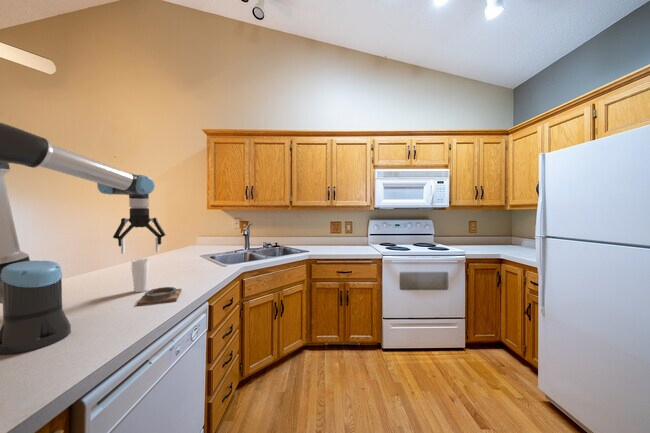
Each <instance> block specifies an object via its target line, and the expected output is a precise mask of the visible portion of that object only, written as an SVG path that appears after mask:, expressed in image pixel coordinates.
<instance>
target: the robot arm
mask: <svg viewBox="0 0 650 433" xmlns="http://www.w3.org/2000/svg"><path fill="white" fill-rule="evenodd" d="M10 164H15V165H21V166H25V167H29V168H32V169H34V168H35V169H36V168H39V167H41V168H45V169H48V170H51V171H54V172H58V173H62V174H65V175H68V176H73V177H76V178H80V179H83V180H87V181H90V182H94V183H97V190H98V191H99V193H101V194H104V195H109V196H110V195H122V196H123V195H125V196H128V198H129V199H128V204H129V207H130V208H129V218H126V217H122V218H121V219H120V224H119V226H118V227H117V229H116V231H115V233H114V235H113V236H112V238H113V239H116V240H118V241H117V242H118V247H120V248H121V249H120V252H121V253H120V254H125V253H126V238H125V237H126V236H127V235H128V234H129V232H130V231H131V230H132V229H134V228H136V229H137V228H145V227H146V229H148V230H149V231H150V232H151V233H152V234H153V235H154V236H155V237H156V238H155V252H157V253H158V252H160V245H161V244H162V238H163V237H166V233H165V231H164V230H163V228H162V226H161V225H160V223H159V222H158V217H153V218H150V208H149V207H150V199H149V198H150V197H149V194H151V193H152V192H153V191H154V190H155V181H154V179H152V178H151V177H150V176H147V175H144V174H134V173H131V172H128V171H126V170H122V169H120V168H117V167H115V166H111V165H109V164H106V163H104V162H101V161H98V160H95V159H93V158H90V157H86V156H84V155H81V154H79V153H76V152H74V151H71V150H68V149H65V148H62V147H59V146H57V145H55V144H51V143H50V140H48V138H45V137H42V136H40V135H36V134H34V133H31V132H29V131H26V130H24V129H20V128H19V127H18V128H17V127H15V126H12V125H9V124H6V123H3V122H0V304H2V315H3V316H2V318H3V321H2V324H1V326H0V355H12V354H14V355H15V354H19V353H26V352H30V351H33V350H37V349H40V348H44V347H47V346H49V345H52V344H54V343H57V342H59V341H62V340H63V339H65V338H66V337H68V336H69V335H70V334H71V332H72V328H71V326H72V325H71V323H70V320H69V319H68V317H67V316H66V313H65V312H64V310H63V286H62V285H63V284H62V283H63V282H62V281H63V280H62V278H63V273H62V268H61V265H60V264H59V263H58V262H55V261H51V260H31V259H30V256H29V255H30V254H28V253H26V252H24V251H22V250H21V249H20V243H19V240H18V235H17V229H16V225H15V222H14V217H13V213H12V212H13V211H12V208H11V204H10V198H9V194H8V190H7V185H6V180H5V175H6V174H8V173H9V172H10V171H11V168H10ZM128 222H129V224H130V225H129V226H128V227H127V228H126V229H125V230H124V227H125V226H126V224H127V223H128ZM150 222H152V223H153V224H154V226H155V227H156V229H155V228H154V227H153V226H152V225H151V224H150ZM123 230H124V231H123ZM122 231H123V232H122Z"/></svg>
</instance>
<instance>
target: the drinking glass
mask: <svg viewBox="0 0 650 433" xmlns="http://www.w3.org/2000/svg"><path fill="white" fill-rule="evenodd" d="M131 273H132V274H131V275H132V282H133V292H134V293H143V292H147V291H148V290H149V289H148V288H149V286H148V285H149V275H150V274H149V273H150V259H149V258H137V259H133V260H131Z"/></svg>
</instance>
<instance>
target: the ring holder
mask: <svg viewBox="0 0 650 433" xmlns="http://www.w3.org/2000/svg"><path fill="white" fill-rule="evenodd" d="M181 293H182V288H176V287H173V286H164V287H158V288H152V289H150V290H149V289H148V290H146V291H145V293H144V295H143V296H142V297H141V298H140V299H139V300H138V301H137V303H136V305H137V306H138V307H139V306H145V305H146V306H147V305H155V304H164V303H165V304H166V303H173V302H177V301H178V300H179V299H178V298H179V297H180V295H181Z"/></svg>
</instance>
